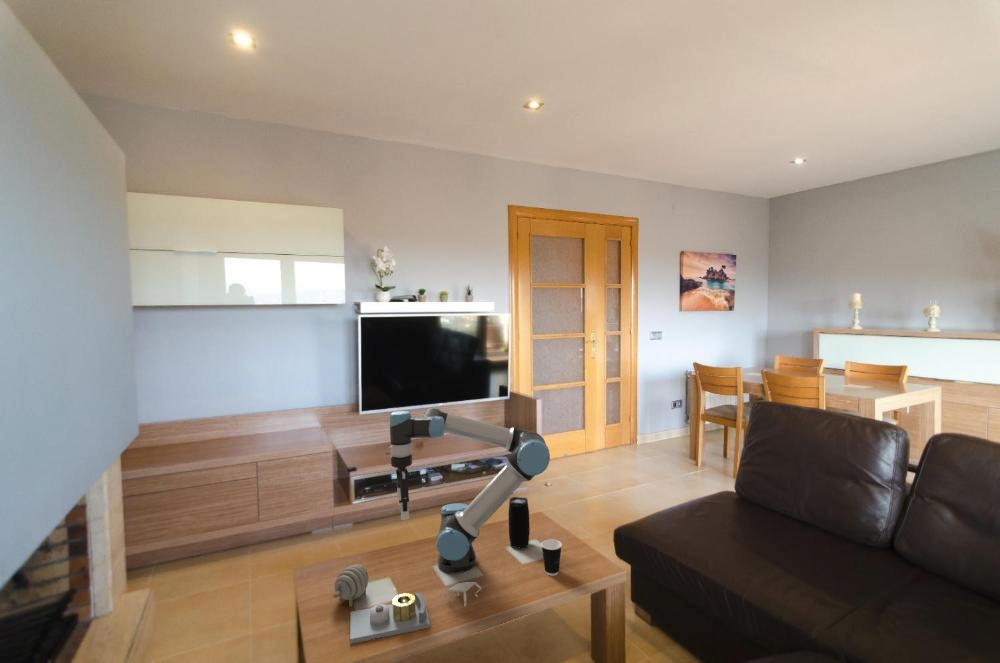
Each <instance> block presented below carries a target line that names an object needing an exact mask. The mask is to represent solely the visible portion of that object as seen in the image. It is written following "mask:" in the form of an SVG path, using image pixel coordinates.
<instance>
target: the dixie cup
mask: <svg viewBox="0 0 1000 663" xmlns="http://www.w3.org/2000/svg"><path fill="white" fill-rule="evenodd" d="M540 546H541V550H542V558H543V567H544V571H545V574H546V575H548V576H551V577H555V576H557V575H558V574H559V572H560V566H561V565H560V564H561V554H562V553H561V551H562V546H563V543H562V542H561V541H559V540H557V539H553V538H548V539H545V540H543V541H541V543H540Z"/></svg>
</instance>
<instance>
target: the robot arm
mask: <svg viewBox="0 0 1000 663" xmlns="http://www.w3.org/2000/svg"><path fill="white" fill-rule="evenodd" d="M389 415H390V416H389V434H390V435H389V436H390V446H388V449H389V450H390V455H391V456H390V466H391V467H393V468H396V470H395V474H396V487H397V490H396V491H397V494H396V495H397V496H396V497H397V506H399V507H400V520H401V521H406V520H409V519H410V508H409V507H410V506H409V502H410V498H409V497H410V496H409V495H410V494H409V483H408V482H409V479H408V478H409V477H408V476H409V470H408V468H407V467H410V466H412V464H413V454H412V453H413V445H412V444H413V441H412V439H432V438H433V439H435V438H442V437H443V436H444V435H445V434H449V435H452V436H456V437H460V438H464V439H468V440H472V441H476V442H479V443H484V444H487V445H491V446H495V447H500V448H503V449H505V450H506V452H508V453H510V454H509V455H508V456H507V457H506V465H504V467H503V468H502V469H501V470H500V471H499V472H498V473H497V474H496V475H495V476H494V477H493V478H492V479H491V481H489V483H488V484H487V485H486V486H485V487H484V488H483V489H482V490H481V491H480V492H479V494H478V495H476V497H474V499H473V500H472V501H471V502H470V503H469V504H467V503H460V502H459V503H458V502H456V503H449V504H446V505H443V506H442V507H441V509H440V525H439V529H438V535H437V536H436V540H435V541H436V549H437V552H438V557H437V566H438V568H439V569H440V570H441V571H443V572H445V573H448V574H449V573H450V574H458V573H464V572H468V571H470V570H471V569H473V568H474V567H475V566H476V564H477V554H476V552H475V549H474V546H473V542H474V541H476V539H477V538H478V537H479V536H480V529H481V528H482V527H483V526H484V525H485V523H486V522H487V521H488V520H489V519H490V518H491V517H492V516H493V515H494V514H495V513H496V512H497V511H498V509H499V508H501V507H502V505H503V504H504V503H505V502H506V501H507V500H508V499H510V497H511V495H512V494H513V493H514V492H515V491H516V490H517V489H518V488H519V487H520V486H521V484H523V483H525V482H530V481H531V480H532V479H533V478H534V477H535V476H538V475H541V474H543V473H544V472H545V471H546V470H547V469H548V467H549V464H550V461H551V460H550V459H551V453H550V450H549V447H548V446H547V443H546V441H545V439H544V438H543V436H542V434H541V435H540V434H539V433H537V432H535V431H533V430H532V431H531V430H528V429H524V428H519V427H515V426H512V427H510V428H508V427H503V426H500V425H496V424H492V423H487V422H485V421H480V420H475V419H471V418H468V417H465V416H461V415H460V416H459V415H456V414H452V413H448V412H444V411H442V410H440V408H436V407H431V408H429V409H427V410H426V411H425V412H424V413H423V415H422V416H417V417H416V416H412V414H411V412H410V411H408V410H399V411H397V410H396V411H393V412H392V413H391V414H389Z"/></svg>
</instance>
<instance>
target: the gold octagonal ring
mask: <svg viewBox="0 0 1000 663" xmlns="http://www.w3.org/2000/svg"><path fill="white" fill-rule="evenodd" d="M403 599H407V600H408V602H407V603H402V600H403ZM392 604H393V619H394V620H396V621H399V622H400V621H401V622H404V621H409V620H411V619H412V618H413V617H414V616H415V615H416V612H415V594H412V593H409V592H408V593H407V592H403V593H399V594H397V595H396V596H395V597H393V598H392Z"/></svg>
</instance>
